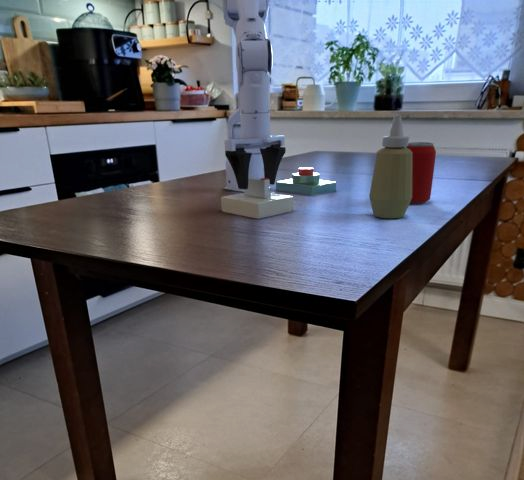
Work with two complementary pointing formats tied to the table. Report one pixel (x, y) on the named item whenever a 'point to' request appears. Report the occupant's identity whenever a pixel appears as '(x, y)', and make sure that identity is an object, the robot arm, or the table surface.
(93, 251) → the table surface
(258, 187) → the block
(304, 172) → the button
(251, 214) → the base
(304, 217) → the table surface
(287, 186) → the button box
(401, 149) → the squeeze bottle
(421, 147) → the beverage can
